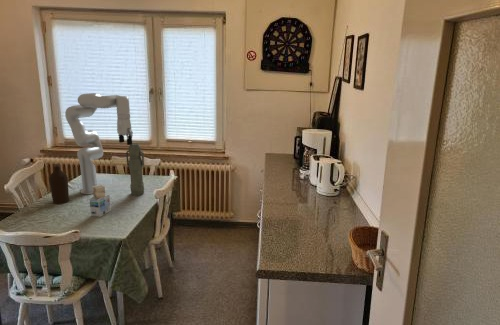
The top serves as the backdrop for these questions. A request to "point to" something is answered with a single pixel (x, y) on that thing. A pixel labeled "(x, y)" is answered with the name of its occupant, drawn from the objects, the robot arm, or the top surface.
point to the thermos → (135, 169)
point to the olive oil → (59, 186)
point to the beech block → (99, 191)
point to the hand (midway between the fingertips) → (125, 143)
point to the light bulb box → (100, 205)
